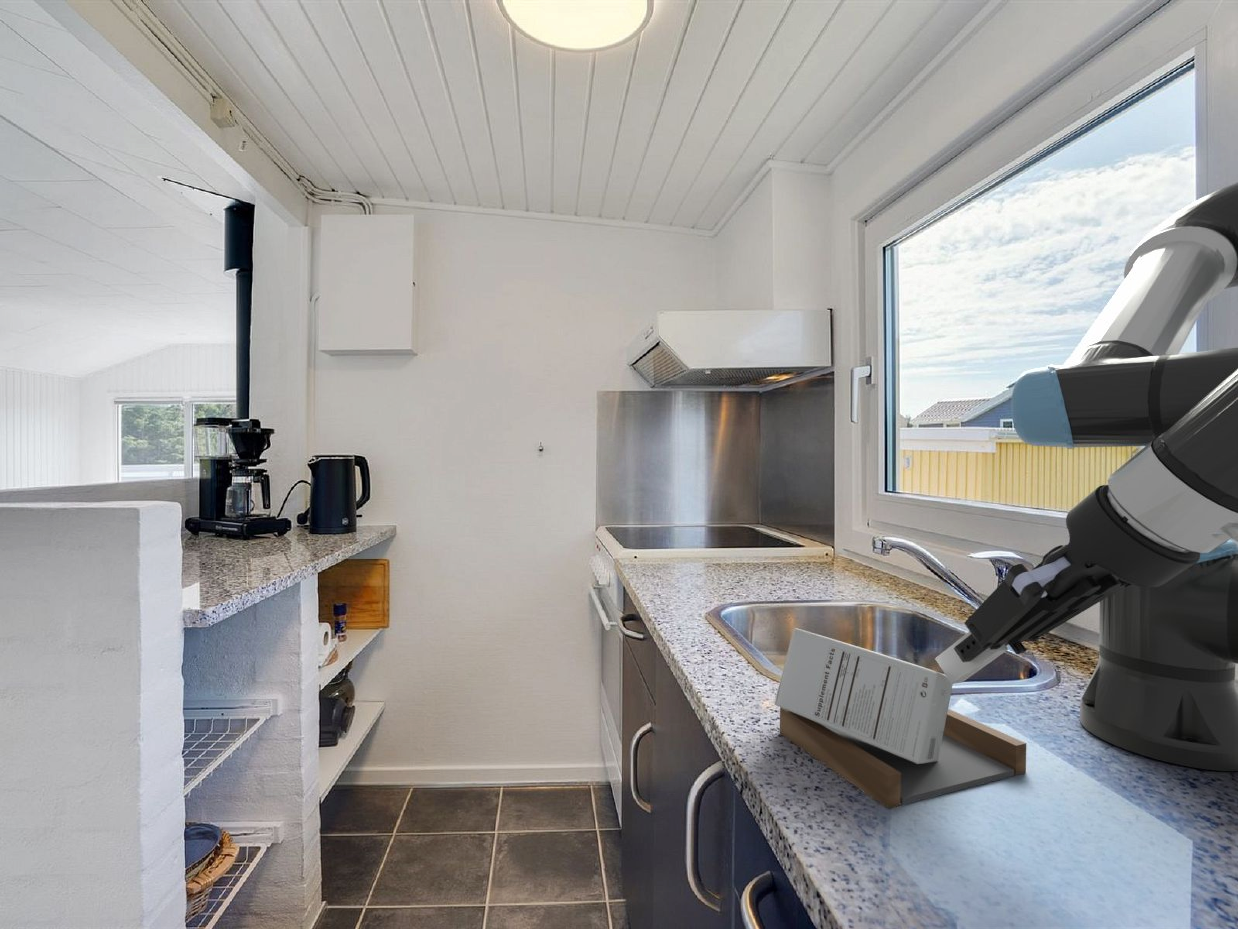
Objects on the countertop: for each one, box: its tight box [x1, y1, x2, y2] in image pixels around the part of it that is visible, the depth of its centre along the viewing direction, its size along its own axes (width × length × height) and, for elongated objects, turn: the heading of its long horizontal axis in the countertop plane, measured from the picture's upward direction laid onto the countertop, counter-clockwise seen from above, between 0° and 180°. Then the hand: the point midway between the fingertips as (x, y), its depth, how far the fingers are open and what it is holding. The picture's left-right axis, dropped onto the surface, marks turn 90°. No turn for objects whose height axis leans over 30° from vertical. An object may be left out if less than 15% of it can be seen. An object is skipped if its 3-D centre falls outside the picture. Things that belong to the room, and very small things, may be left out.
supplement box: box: [774, 627, 954, 764], centre depth 65 cm, size 9×9×15 cm
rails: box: [779, 707, 1027, 809], centre depth 65 cm, size 18×16×3 cm
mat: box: [823, 725, 1015, 806], centre depth 65 cm, size 15×16×1 cm
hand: (948, 670), depth 59 cm, fingers closed
